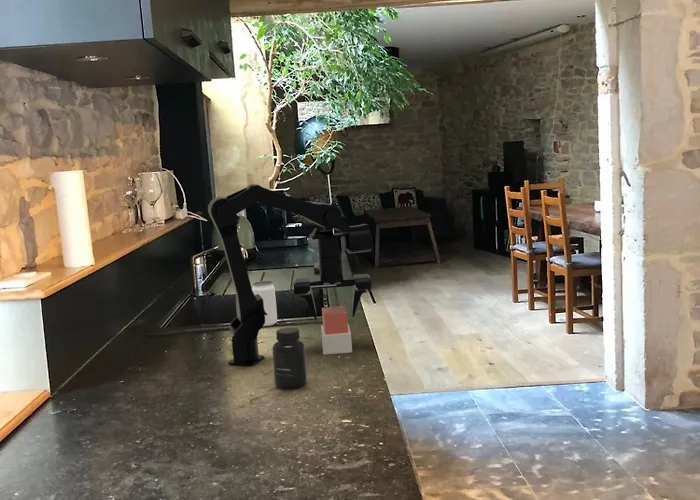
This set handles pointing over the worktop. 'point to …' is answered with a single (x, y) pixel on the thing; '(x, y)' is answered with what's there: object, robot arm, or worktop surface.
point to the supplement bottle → (289, 359)
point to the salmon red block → (334, 320)
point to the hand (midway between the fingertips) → (334, 318)
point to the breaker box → (336, 342)
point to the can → (267, 300)
